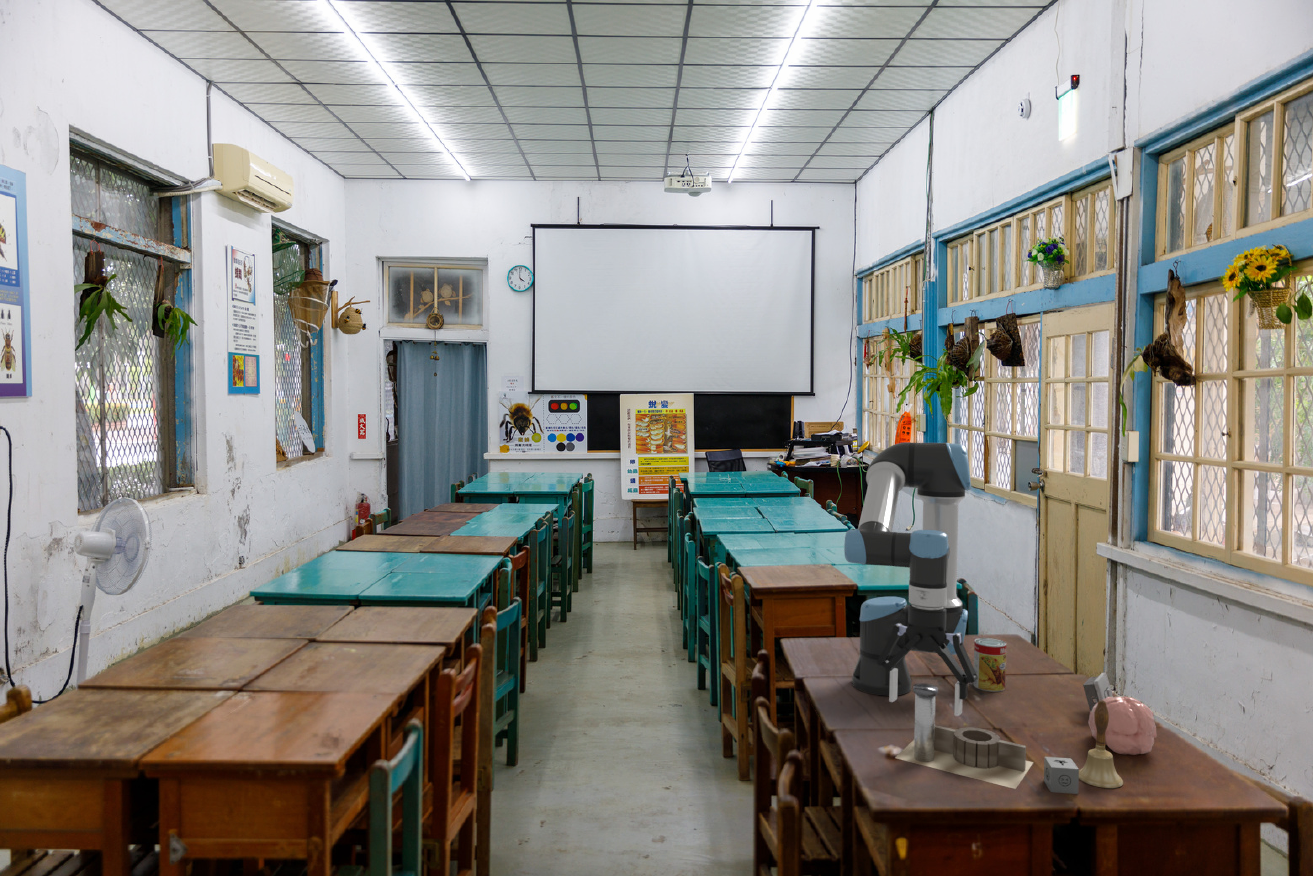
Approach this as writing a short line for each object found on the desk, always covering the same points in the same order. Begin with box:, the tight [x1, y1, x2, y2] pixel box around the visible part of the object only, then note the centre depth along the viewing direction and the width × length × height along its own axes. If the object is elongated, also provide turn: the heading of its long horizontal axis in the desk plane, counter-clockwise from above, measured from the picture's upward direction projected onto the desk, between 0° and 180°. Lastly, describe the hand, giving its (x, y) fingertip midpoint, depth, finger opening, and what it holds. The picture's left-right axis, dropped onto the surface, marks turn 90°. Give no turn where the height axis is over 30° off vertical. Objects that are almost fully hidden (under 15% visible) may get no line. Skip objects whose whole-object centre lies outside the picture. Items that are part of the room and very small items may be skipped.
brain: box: [1088, 695, 1158, 756], centre depth 190 cm, size 16×13×12 cm
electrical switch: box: [1082, 672, 1114, 713], centre depth 210 cm, size 9×5×9 cm, turn 141°
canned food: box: [972, 637, 1007, 693], centre depth 229 cm, size 8×8×12 cm
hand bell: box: [1079, 700, 1124, 789], centre depth 174 cm, size 8×8×16 cm
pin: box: [912, 683, 939, 762], centre depth 180 cm, size 5×5×15 cm
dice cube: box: [1043, 756, 1080, 795], centre depth 170 cm, size 5×5×5 cm
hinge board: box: [894, 724, 1034, 790], centre depth 180 cm, size 24×15×6 cm, turn 54°
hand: (925, 707), depth 180 cm, fingers open, 13 cm apart
